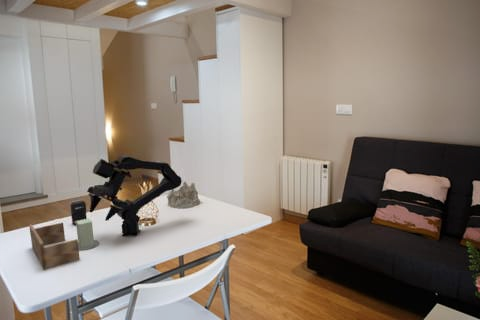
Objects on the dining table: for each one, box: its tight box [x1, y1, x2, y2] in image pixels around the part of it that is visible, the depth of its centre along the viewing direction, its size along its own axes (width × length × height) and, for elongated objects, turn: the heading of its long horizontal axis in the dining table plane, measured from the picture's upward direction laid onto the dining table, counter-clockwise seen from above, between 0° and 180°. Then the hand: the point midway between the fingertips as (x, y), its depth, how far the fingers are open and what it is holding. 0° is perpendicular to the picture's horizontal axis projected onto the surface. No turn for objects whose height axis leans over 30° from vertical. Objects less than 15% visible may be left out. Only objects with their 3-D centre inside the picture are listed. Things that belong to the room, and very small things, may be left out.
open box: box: [28, 222, 81, 270], centre depth 146 cm, size 12×25×10 cm, turn 37°
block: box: [75, 218, 95, 248], centre depth 153 cm, size 5×5×10 cm
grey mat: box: [78, 239, 100, 251], centre depth 154 cm, size 10×10×1 cm
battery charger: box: [69, 199, 88, 226], centre depth 179 cm, size 7×4×11 cm, turn 126°
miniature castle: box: [166, 181, 201, 210], centre depth 206 cm, size 16×16×15 cm
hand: (98, 216), depth 155 cm, fingers open, 9 cm apart
